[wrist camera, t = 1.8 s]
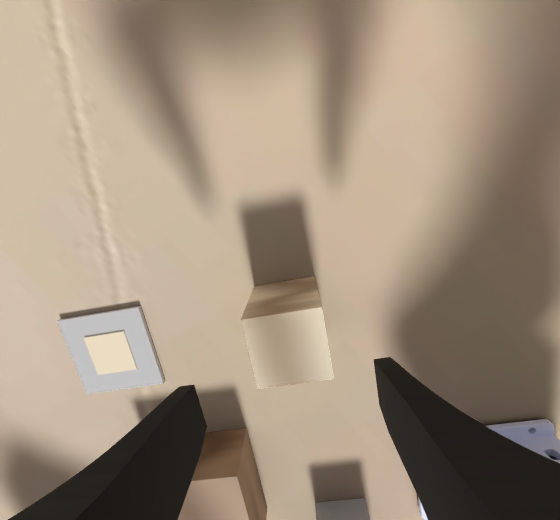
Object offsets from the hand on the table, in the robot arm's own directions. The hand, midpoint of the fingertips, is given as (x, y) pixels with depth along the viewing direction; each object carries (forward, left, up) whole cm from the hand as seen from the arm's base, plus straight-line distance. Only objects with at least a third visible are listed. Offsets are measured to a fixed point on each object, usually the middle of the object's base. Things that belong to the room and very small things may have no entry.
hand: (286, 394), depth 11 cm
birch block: (0, 0, -8) cm, 8 cm away
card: (+13, +1, -8) cm, 15 cm away
